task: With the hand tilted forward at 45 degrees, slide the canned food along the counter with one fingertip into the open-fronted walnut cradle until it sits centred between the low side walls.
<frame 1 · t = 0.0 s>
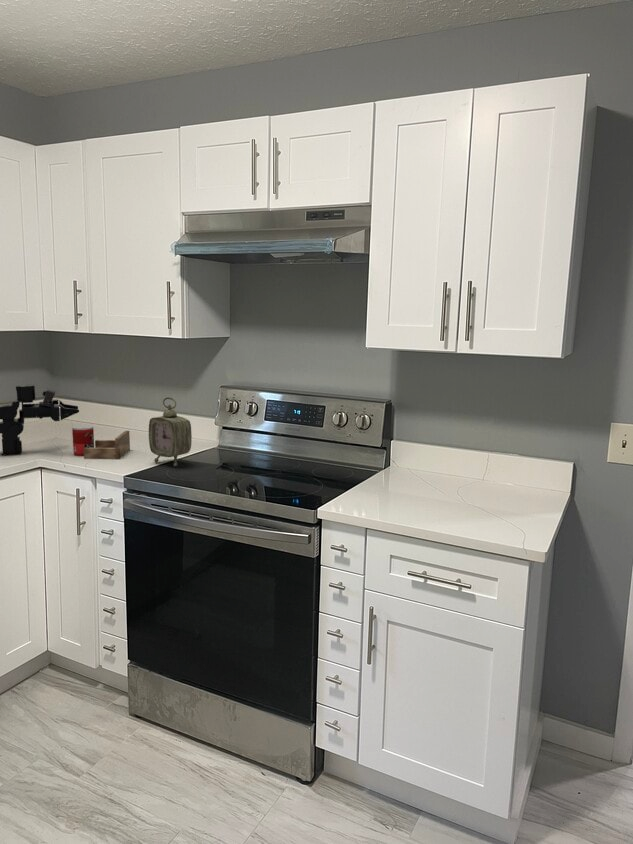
hand: (78, 409, 258), 17 cm above the countertop, tool horizontal, fingers open, 9 cm apart
cradle: (105, 454, 253), on the countertop
canned food: (84, 454, 253), on the countertop
tabletop clock: (171, 463, 240), on the countertop
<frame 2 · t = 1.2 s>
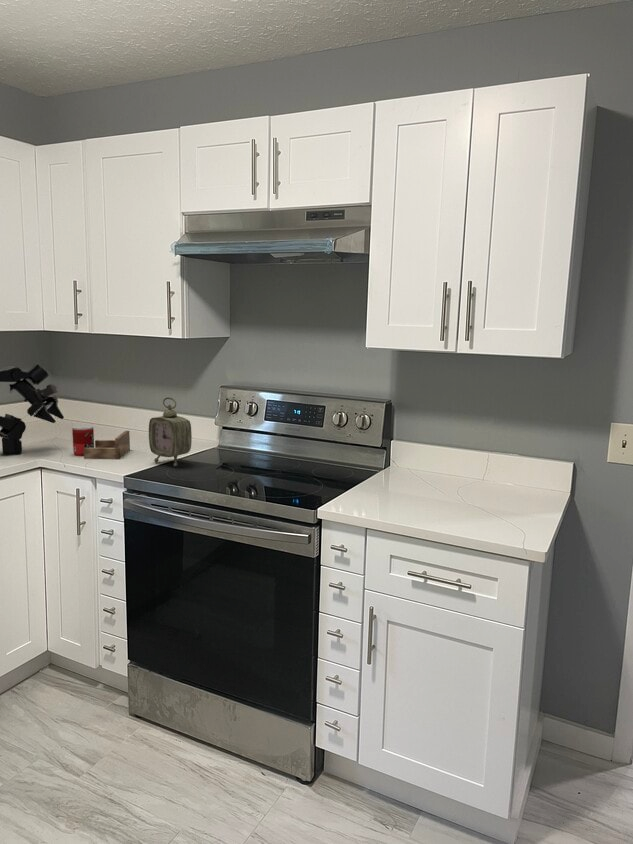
hand: (59, 420, 255), 13 cm above the countertop, tool tilted 45°, fingers open, 9 cm apart
nothing on the countertop moved.
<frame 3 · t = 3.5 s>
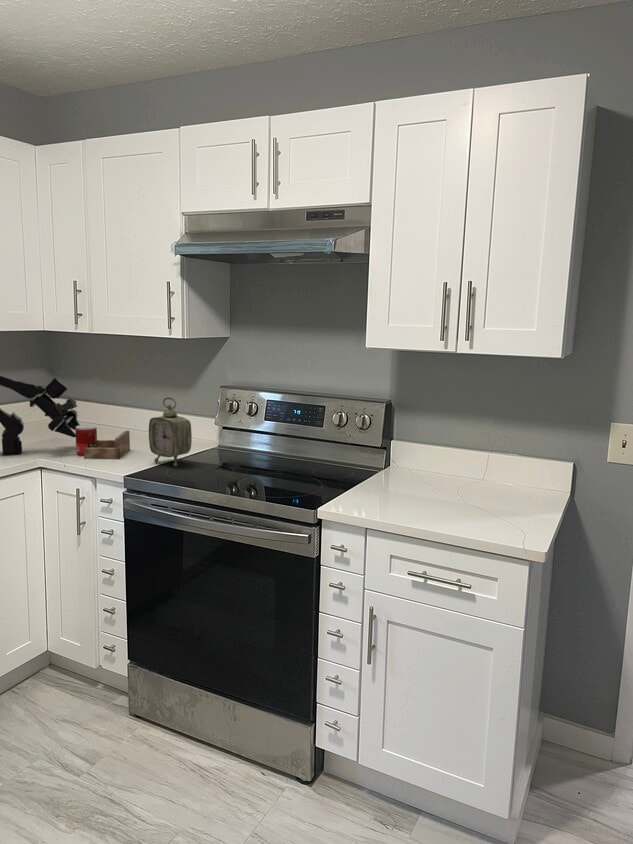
hand: (79, 434, 256), 7 cm above the countertop, tool tilted 45°, fingers open, 9 cm apart
canned food: (86, 454, 253), on the countertop, touching gripper
everything else where it was.
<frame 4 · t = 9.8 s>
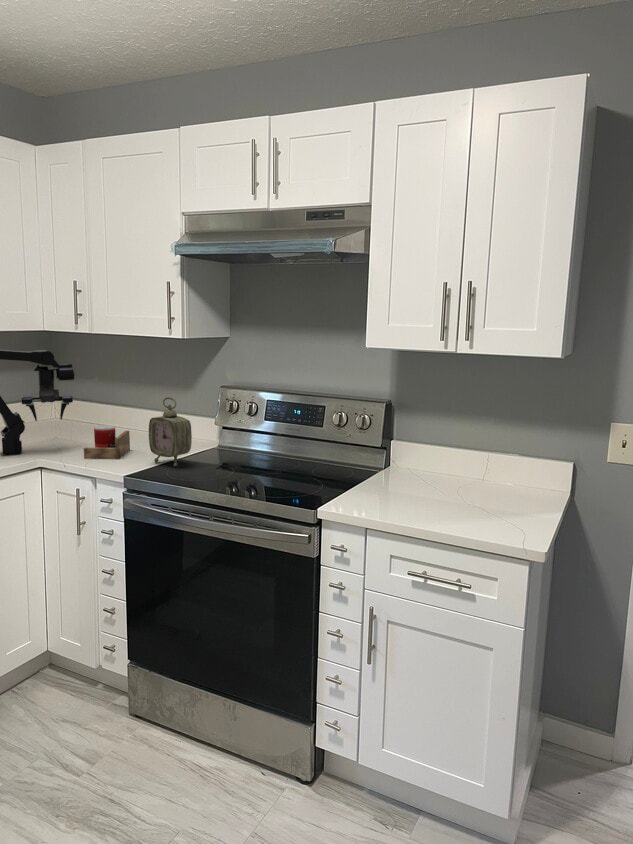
hand: (48, 420, 258), 12 cm above the countertop, tool pointing down, fingers open, 9 cm apart
canned food: (105, 454, 253), on the countertop
everything else where it was.
at the end: canned food 0.2 cm off-centre on the cradle, point 0.0 cm above the cradle's base; canned food tilted 0°; canned food moved 8.5 cm from its start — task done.
